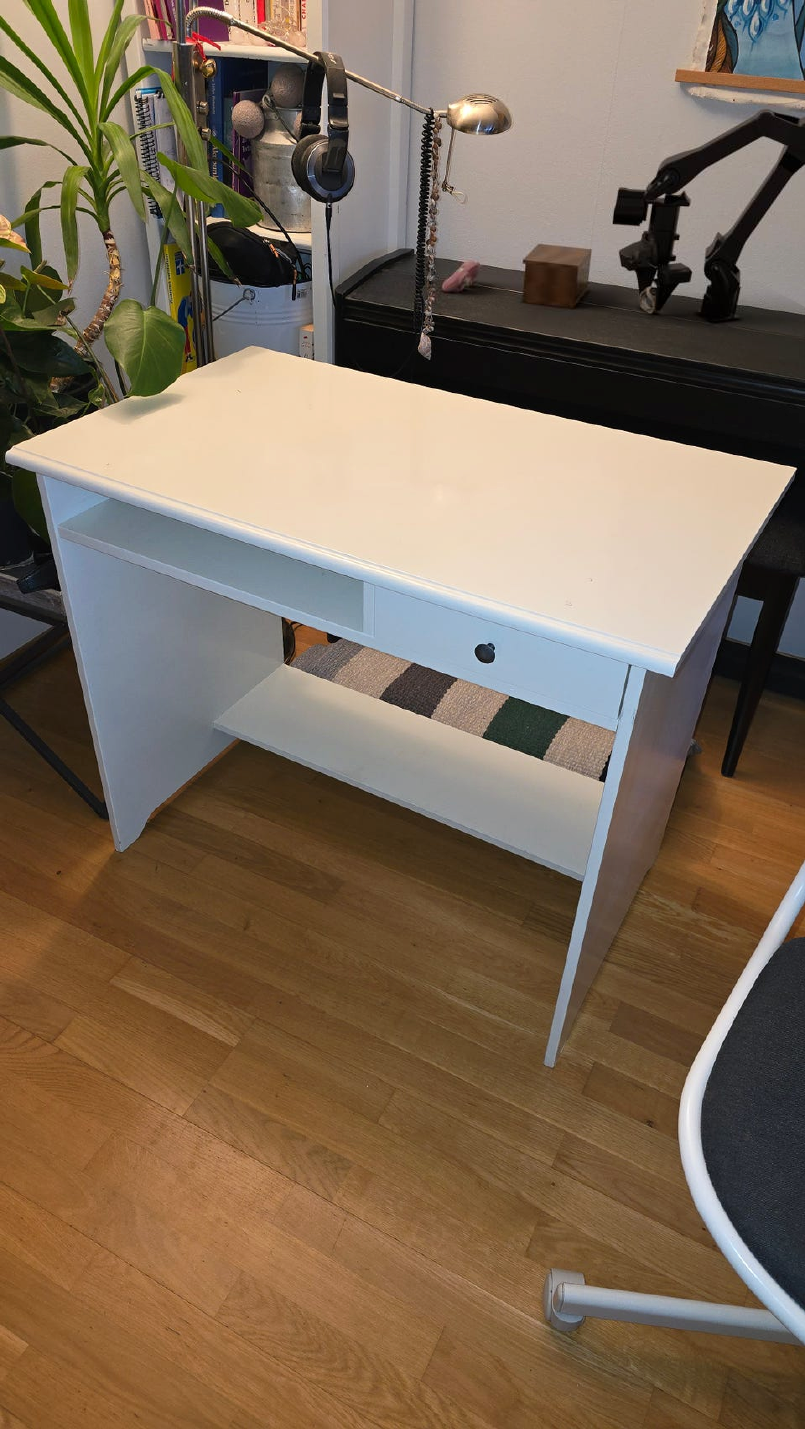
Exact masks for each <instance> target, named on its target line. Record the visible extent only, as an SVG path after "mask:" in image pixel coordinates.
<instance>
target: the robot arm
mask: <svg viewBox="0 0 805 1429" xmlns="http://www.w3.org/2000/svg"><path fill="white" fill-rule="evenodd" d="M763 137H764V138H767V139H769V140H772V141H774V142H777V143H778V144H781V145H783V146H782V149H781V152H780V153H779V156H778V158H777V160H776V162H775V164H774V166H773V167H772V168H771V169H770V171H769V173H767V176H766V177H765V178H764V180H763V182H762V183H761V184H760V185H759V188H758V189H757V190H756V192H754V195H753V196H752V198H751V199H750V201H749V202H748V203H747V204H746V206H745V207H744V209H743V210H742V212H741V213H740V215H739V217H738V218H737V219H736V220H735V222H734V224H733V225H732V227H731V228H730V229H729V230H728V231H727V232H725V233H724V234H722V233H720V231H717V232H716V234H715V236H714V239H713V241H712V242H711V243H710V245H709V246H707V247H705V254H704V261H703V262H704V264H703V274H704V276H705V278H706V279H707V280H708V281H709V282H710V284H707V285H706V291H705V293H704V294H703V296H702V297H703V298H702V303H701V308H700V309H698V310H697V314H698V315H700V316H702V317H703V318H705V319H707V320H709V321H710V322H712V323H719V322H727V321H734V320H739V319H740V316H739V315H738V314H736V311H737V307H738V303H739V298H740V293H741V290H742V286H741V270H740V269H739V267H738V265H737V263H738V261H739V258H740V256H741V254H742V251H743V249H744V247H745V244H746V242H747V241H748V239H749V238H750V237H751V236H752V234H753V232H754V231H755V230H756V228H757V226H759V224H760V222H762V219H763V218H764V217H765V215H766V214H767V213H768V211H769V210H770V208H771V207H772V205H773V204H774V203H775V202H776V199H777V198H778V197H779V196H780V194H781V193H782V191H783V190H784V189H785V187H786V185H787V184H788V183H789V182H790V180H791V178H792V177H793V176H794V175H795V174H797V172H798V171H800V170H801V169H802V168H803V167H804V166H805V116H803V117H801V118H800V117H797V116H795V115H790V114H785V113H781V112H776V111H774V110H771V109H770V108H764V109H760V110H759V111H757V113H755V114H754V115H752V116H751V117H749V118H747V119H746V120H744V121H742V122H741V123H739V124H737V125H735V126H732V128H730V129H728V130H726V131H725V132H722V133H721V134H720V135H718V136H716V137H714V138H713V139H711V140H709V141H707V142H705V143H704V144H702V145H700V146H698V147H696V148H693V149H689V150H685V151H681V152H679V153H676V154H673V155H671V156H668V157H666V158H665V159H663V160H662V161H661V163H660V164H659V166H658V169H657V172H656V174H655V177H654V178H653V179H652V180H651V181H650V182H649V183H648V184H647V186H646V188H645V189H638V188H637V189H635V188H628V187H623V186H620V187H619V188H618V190H617V194H616V195H617V196H616V200H615V205H614V208H613V212H612V213H613V216H612V225H616V226H629V227H630V226H631V227H641V224H643V222H647V218H648V212H649V207H650V205H651V209H650V216H649V221H648V229H647V230H644V231H643V233H641V238H640V240H638V241H635V242H632V243H631V244H629V245H627V246H625V247H622V248H621V249H619V250H618V256H619V261H620V266H621V267H622V268H625V269H626V270H627V271H628V272H634V273H635V275H636V280H637V286H638V293H639V296H640V294H641V293H642V292H643V291H644V290H645V289H646V288H647V287H652V285H653V284H655V287H656V301H655V310H656V311H658V312H659V311H662V309H663V307H664V306H665V304H666V302H667V301H668V299H669V298H670V297H671V295H672V294H673V293H674V291H675V290H676V289H677V287H678V286H679V285H680V284H686V283H691V281H692V277H693V276H692V275H693V271H692V269H691V268H690V267H689V266H688V265H685V264H684V263H682V262H676V261H677V255H675V254H673V253H674V247H675V242H676V241H680V237H681V235H680V234H679V233H677V230H678V224H679V218H680V213H681V208H682V207H685V208H689V207H690V206H691V203H692V202H691V201H692V200H691V198H690V197H689V196H688V194H687V192H686V190H682V189H684V187H686V186H687V185H688V184H690V183H691V182H692V181H693V180H694V179H695V178H697V177H698V175H699V174H701V173H702V172H703V171H704V170H705V169H707V168H710V166H712V165H714V164H716V163H718V162H720V161H722V160H723V159H725V158H727V157H729V156H730V155H733V154H734V153H736V152H738V151H740V150H741V149H743V148H745V147H746V146H748V145H750V144H752V143H753V142H755V141H757V140H759V139H761V138H763ZM680 190H682V191H681V193H679V194H677V193H678V192H679V191H680ZM663 195H664V197H662V196H663ZM671 262H675V263H671ZM647 298H648V296H647V295H646V299H647Z"/></svg>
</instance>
